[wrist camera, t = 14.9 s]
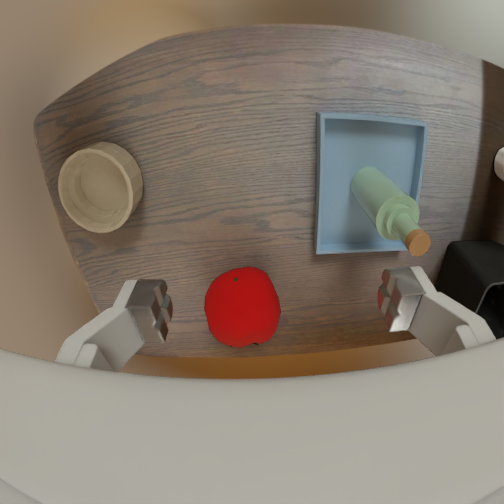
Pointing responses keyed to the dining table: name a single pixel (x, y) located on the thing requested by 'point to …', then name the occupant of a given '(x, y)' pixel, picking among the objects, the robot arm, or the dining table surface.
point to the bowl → (100, 186)
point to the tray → (351, 161)
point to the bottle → (390, 209)
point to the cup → (499, 164)
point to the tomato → (242, 307)
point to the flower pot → (476, 280)
